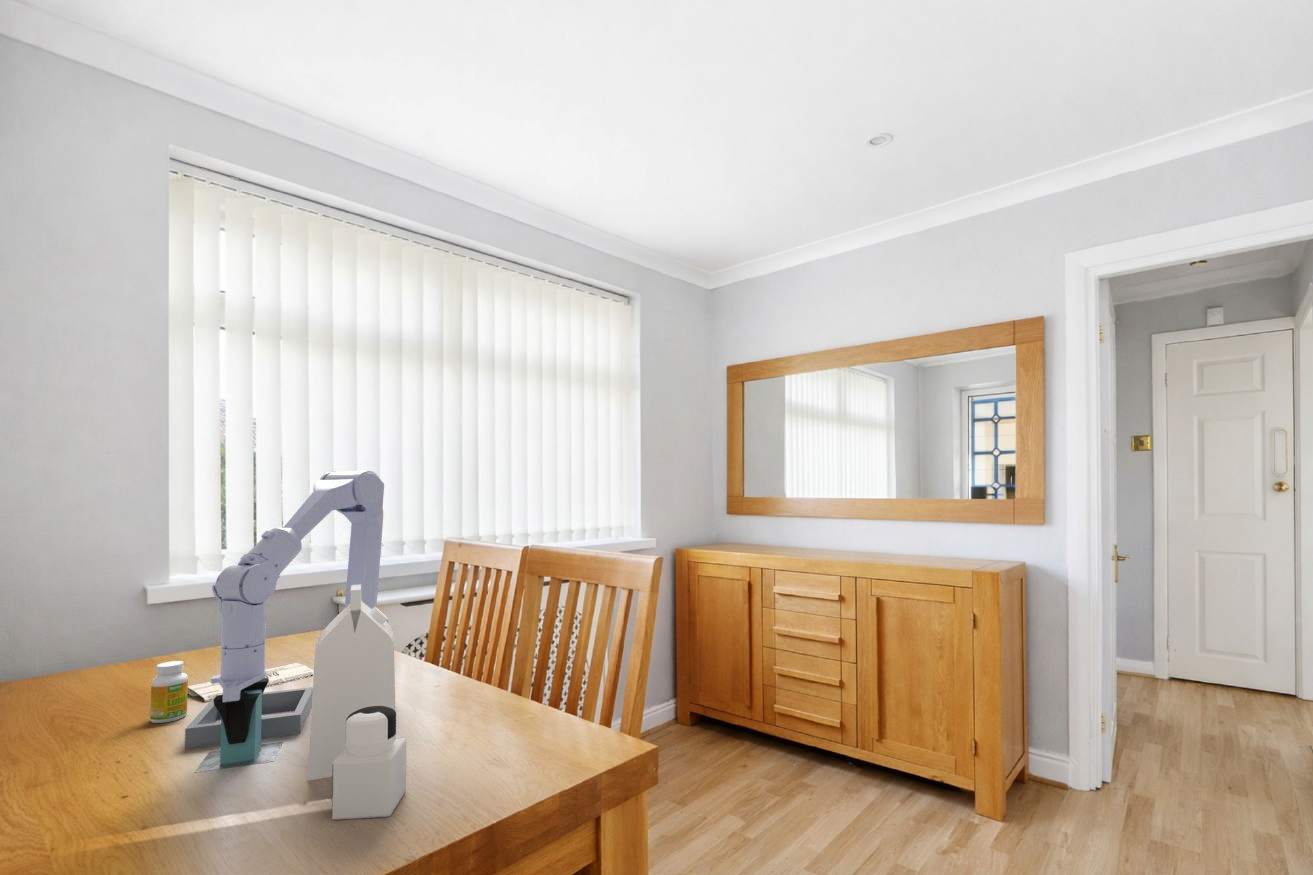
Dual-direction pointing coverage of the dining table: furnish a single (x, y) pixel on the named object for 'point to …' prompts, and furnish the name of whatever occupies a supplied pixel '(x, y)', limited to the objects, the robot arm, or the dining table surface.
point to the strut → (252, 742)
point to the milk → (348, 678)
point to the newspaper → (273, 674)
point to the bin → (297, 700)
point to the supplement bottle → (169, 693)
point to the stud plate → (264, 756)
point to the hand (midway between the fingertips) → (241, 736)
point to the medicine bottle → (369, 766)
